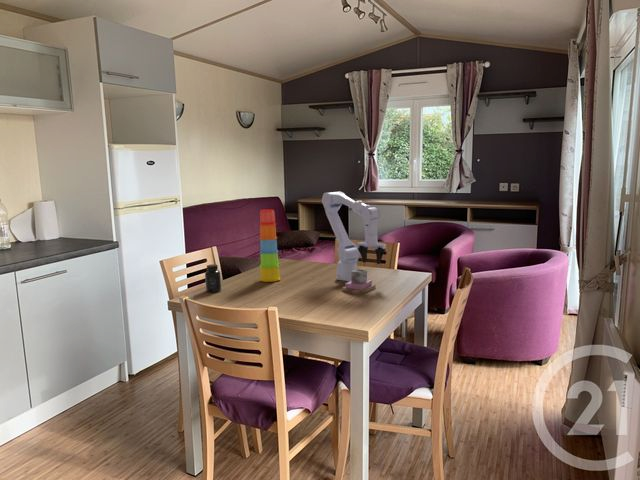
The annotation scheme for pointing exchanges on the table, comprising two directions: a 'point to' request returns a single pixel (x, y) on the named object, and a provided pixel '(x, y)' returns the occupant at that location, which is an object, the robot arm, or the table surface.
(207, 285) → the supplement bottle
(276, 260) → the stacking cups
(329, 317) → the table surface
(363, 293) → the walnut base block
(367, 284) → the plum top block
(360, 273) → the slate cube
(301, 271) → the table surface
